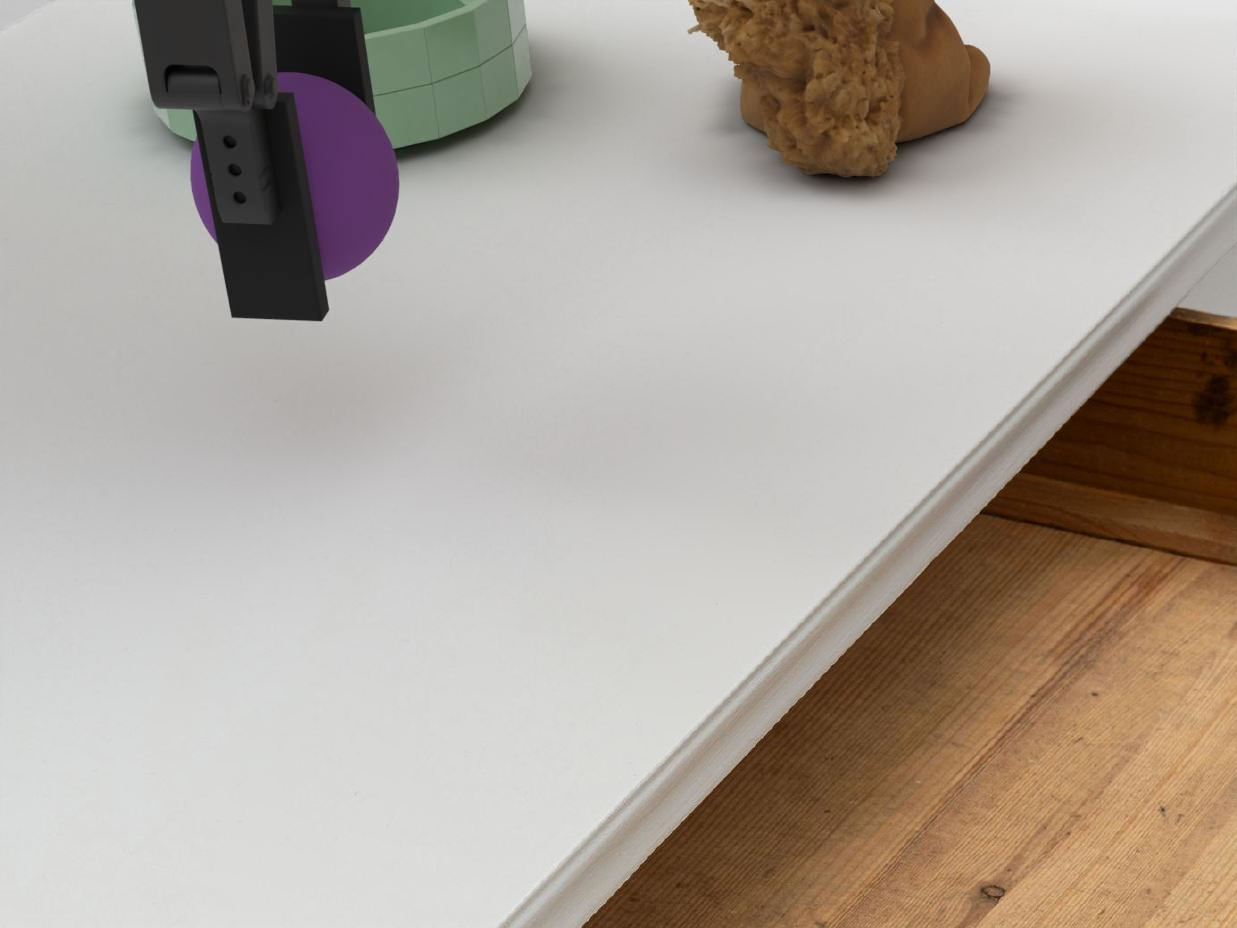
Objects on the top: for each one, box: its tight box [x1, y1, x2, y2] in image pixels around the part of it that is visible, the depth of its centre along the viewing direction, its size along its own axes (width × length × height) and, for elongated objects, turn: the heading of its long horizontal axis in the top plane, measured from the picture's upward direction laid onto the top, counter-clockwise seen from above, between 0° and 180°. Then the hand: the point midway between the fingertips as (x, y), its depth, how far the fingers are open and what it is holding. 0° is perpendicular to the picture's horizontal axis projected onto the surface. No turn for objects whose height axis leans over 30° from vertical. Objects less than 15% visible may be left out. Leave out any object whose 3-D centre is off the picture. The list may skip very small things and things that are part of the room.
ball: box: [189, 72, 400, 282], centre depth 76 cm, size 6×6×6 cm
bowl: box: [131, 0, 533, 150], centre depth 104 cm, size 15×15×5 cm
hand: (313, 263), depth 77 cm, fingers closed on ball, 6 cm apart
